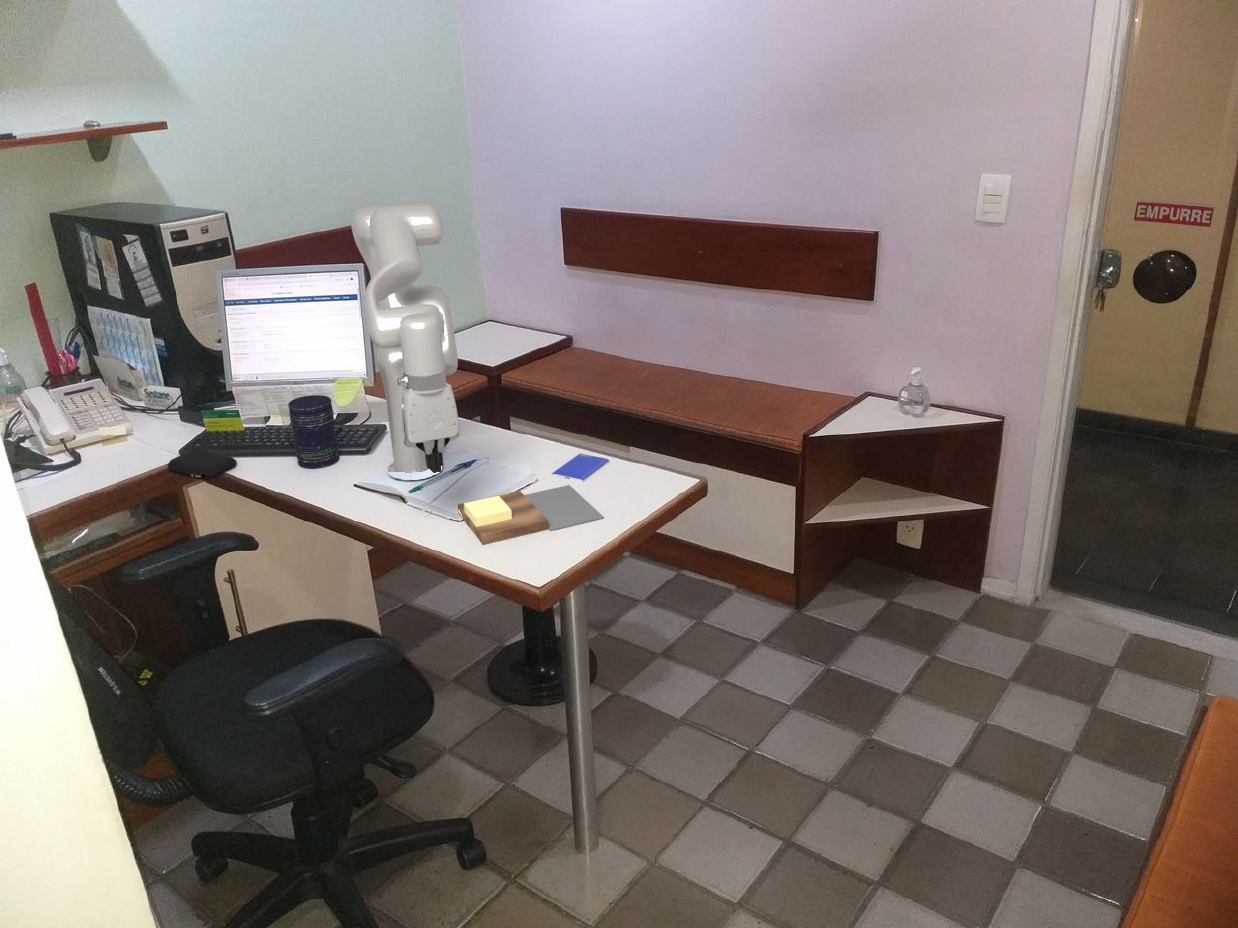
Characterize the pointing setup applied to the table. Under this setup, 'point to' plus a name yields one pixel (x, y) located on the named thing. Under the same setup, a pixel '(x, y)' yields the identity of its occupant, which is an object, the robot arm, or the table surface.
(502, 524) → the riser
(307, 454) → the storage jar
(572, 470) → the hard drive
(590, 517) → the mat
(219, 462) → the carrying case or bag
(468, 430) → the table surface
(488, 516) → the sticky pad
